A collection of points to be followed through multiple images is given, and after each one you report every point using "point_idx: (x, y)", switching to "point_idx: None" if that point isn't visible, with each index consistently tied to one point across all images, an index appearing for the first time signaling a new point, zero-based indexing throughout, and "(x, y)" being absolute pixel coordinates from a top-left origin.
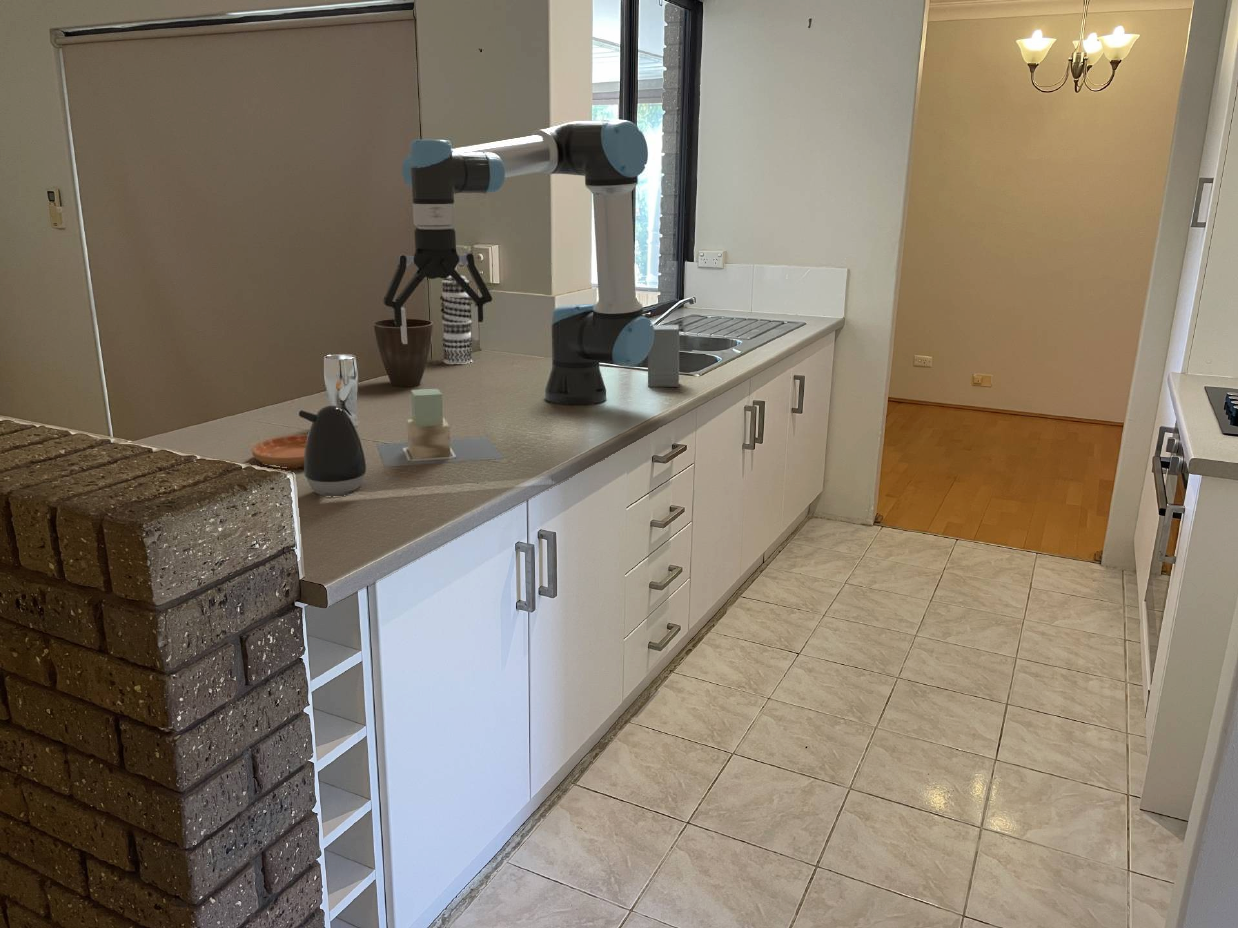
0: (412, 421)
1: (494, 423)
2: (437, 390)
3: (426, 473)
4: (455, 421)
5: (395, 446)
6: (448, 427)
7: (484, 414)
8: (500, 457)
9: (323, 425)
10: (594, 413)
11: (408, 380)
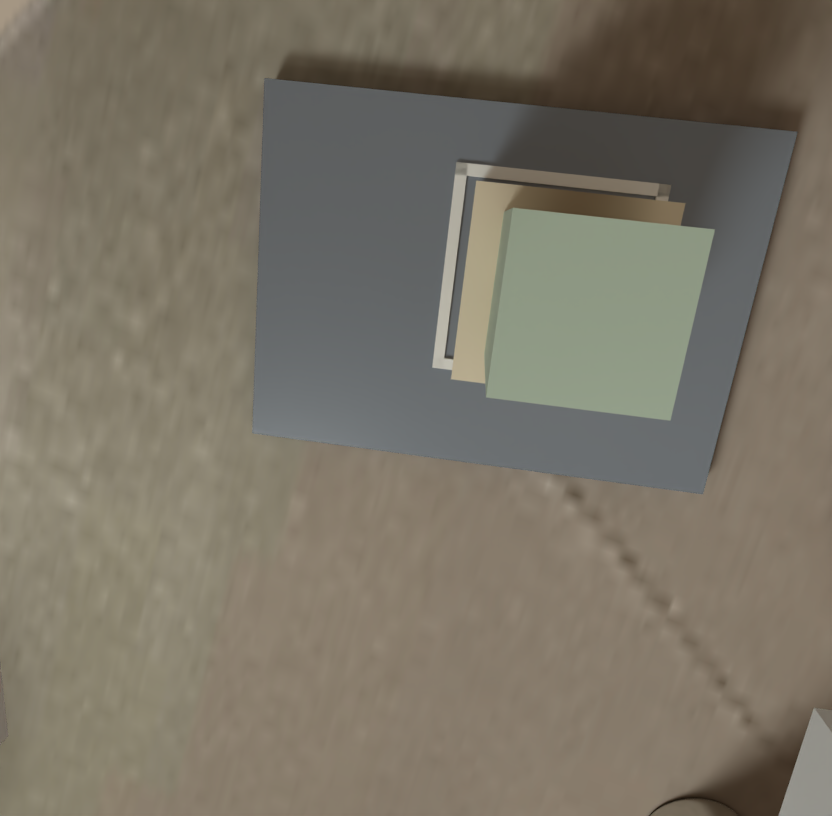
0: None
1: (174, 662)
2: (505, 340)
3: (619, 68)
4: (303, 737)
5: (643, 433)
6: (481, 181)
7: (183, 780)
8: (275, 95)
9: None
10: None
11: None
